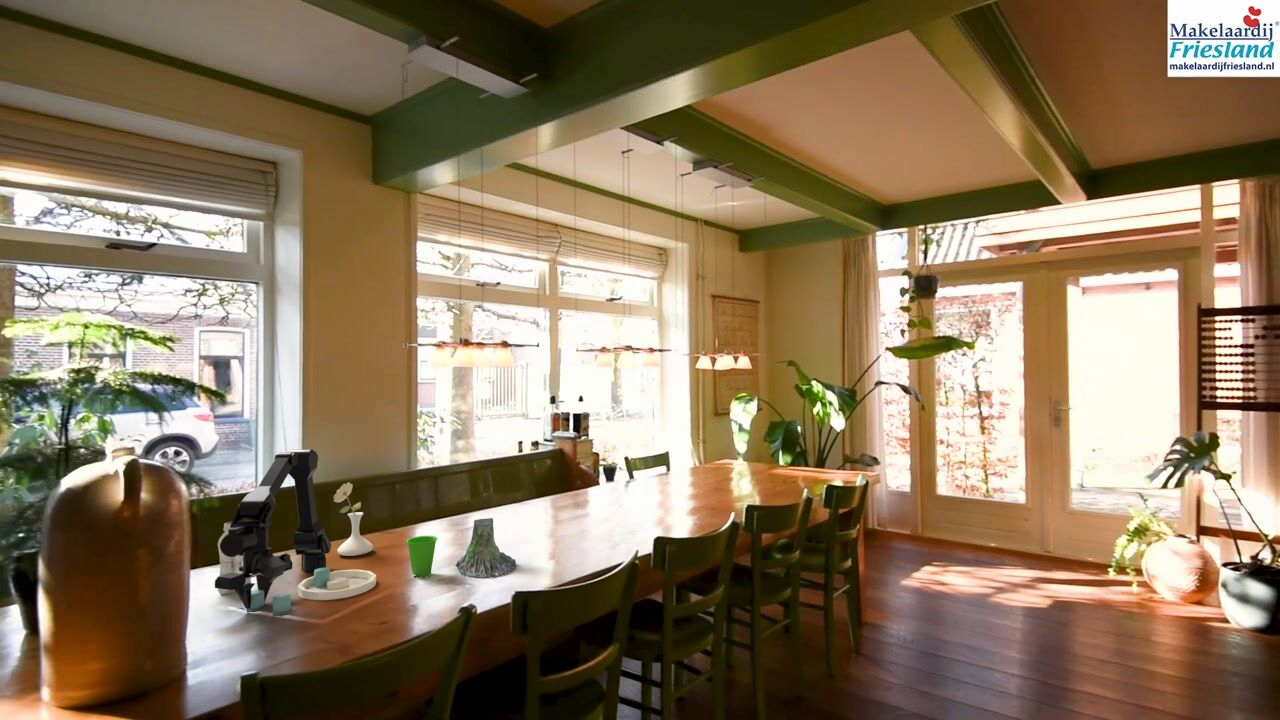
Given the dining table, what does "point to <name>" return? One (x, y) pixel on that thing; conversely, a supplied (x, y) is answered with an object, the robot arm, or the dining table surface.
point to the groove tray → (353, 589)
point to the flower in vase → (356, 541)
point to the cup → (421, 554)
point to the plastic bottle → (228, 561)
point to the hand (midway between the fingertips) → (255, 605)
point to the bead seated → (321, 577)
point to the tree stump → (484, 554)
